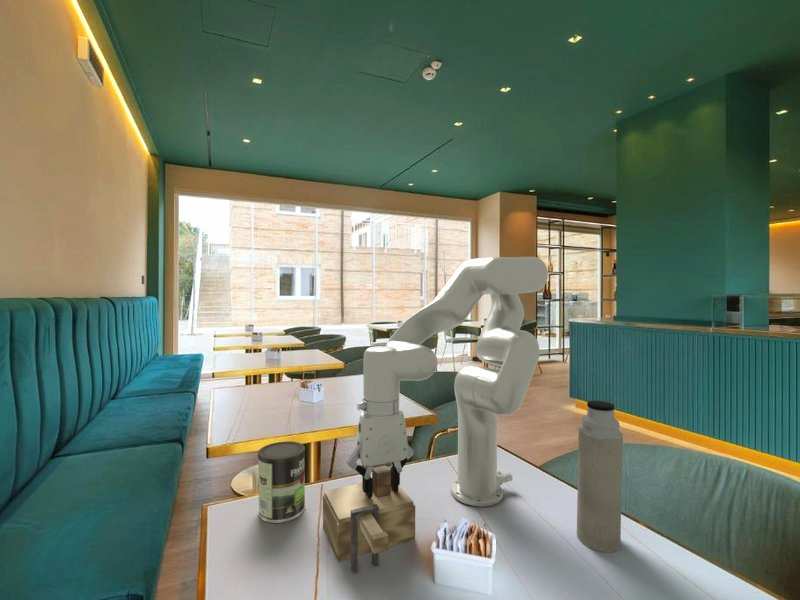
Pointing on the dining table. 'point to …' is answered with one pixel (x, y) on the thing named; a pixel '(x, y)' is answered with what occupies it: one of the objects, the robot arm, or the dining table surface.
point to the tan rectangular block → (373, 533)
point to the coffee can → (281, 481)
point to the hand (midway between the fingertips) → (381, 491)
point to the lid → (356, 498)
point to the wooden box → (352, 540)
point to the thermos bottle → (599, 478)
